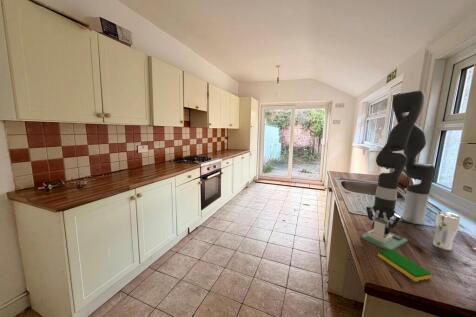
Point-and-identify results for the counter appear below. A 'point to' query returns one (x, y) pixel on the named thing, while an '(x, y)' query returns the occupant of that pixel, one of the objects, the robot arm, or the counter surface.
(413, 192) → the robot arm
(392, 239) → the board
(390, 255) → the dish sponge
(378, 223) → the plug
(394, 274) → the counter surface
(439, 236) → the beer glass
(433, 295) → the counter surface
